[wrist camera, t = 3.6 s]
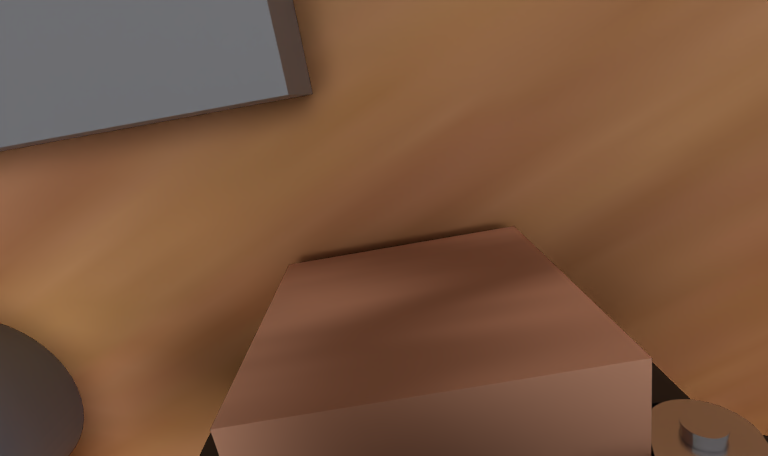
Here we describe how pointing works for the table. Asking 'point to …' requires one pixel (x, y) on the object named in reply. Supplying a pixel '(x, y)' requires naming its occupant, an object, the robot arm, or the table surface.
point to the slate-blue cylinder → (36, 400)
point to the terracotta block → (437, 360)
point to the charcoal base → (140, 63)
